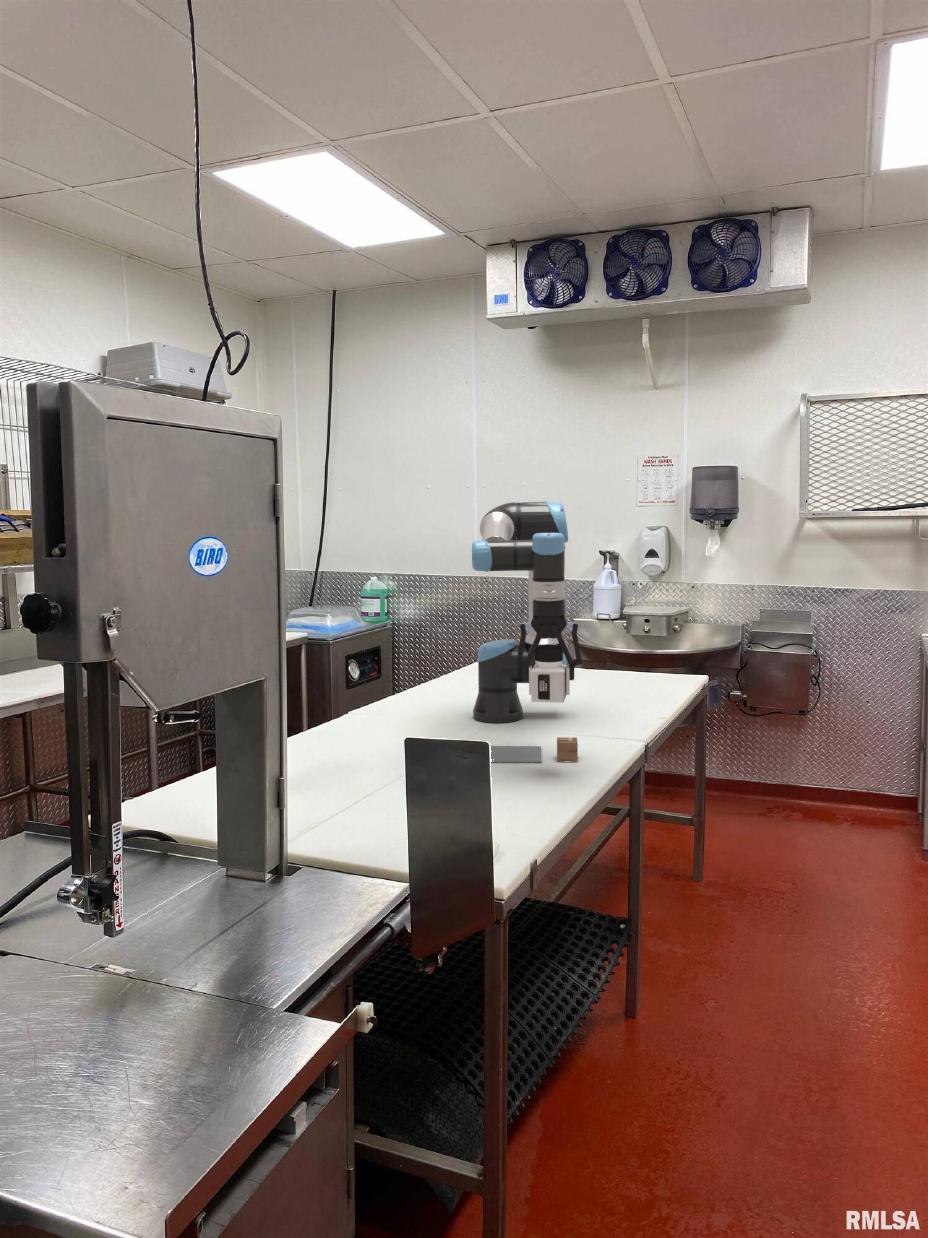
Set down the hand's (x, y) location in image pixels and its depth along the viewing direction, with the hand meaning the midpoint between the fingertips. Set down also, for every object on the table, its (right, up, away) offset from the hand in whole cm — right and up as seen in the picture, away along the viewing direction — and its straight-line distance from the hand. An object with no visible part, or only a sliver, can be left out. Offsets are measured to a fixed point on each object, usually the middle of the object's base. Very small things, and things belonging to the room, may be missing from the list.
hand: (549, 693), depth 206 cm
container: (0, -2, 0) cm, 2 cm away
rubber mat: (-7, -17, +16) cm, 25 cm away
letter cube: (+6, -18, +12) cm, 22 cm away
